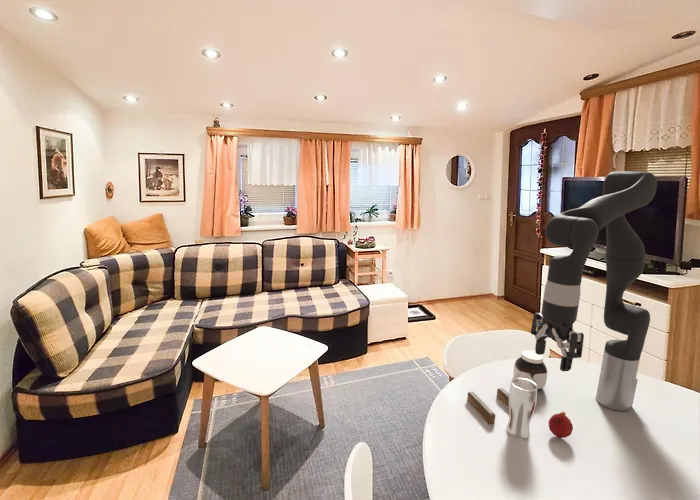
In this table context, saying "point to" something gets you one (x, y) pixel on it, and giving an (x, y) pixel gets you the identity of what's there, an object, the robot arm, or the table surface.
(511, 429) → the beer glass
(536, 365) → the spread jar
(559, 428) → the onion
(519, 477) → the table surface
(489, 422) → the cradle
